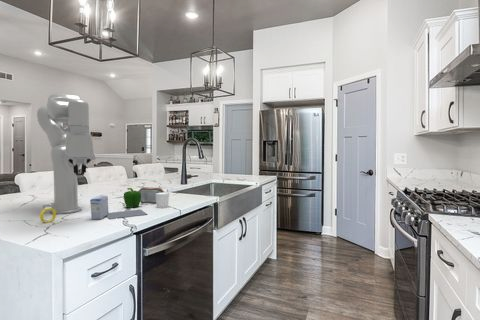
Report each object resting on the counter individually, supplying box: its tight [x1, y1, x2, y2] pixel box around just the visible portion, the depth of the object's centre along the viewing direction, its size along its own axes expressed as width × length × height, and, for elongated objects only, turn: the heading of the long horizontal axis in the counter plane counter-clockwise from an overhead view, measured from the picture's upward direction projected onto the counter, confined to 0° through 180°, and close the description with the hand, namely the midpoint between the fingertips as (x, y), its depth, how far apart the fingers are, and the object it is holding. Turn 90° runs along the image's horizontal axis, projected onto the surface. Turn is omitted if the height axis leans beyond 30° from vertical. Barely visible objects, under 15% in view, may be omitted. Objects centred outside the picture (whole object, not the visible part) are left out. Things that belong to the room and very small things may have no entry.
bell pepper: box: [123, 187, 141, 209], centre depth 149 cm, size 8×8×10 cm
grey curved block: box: [138, 186, 164, 204], centre depth 160 cm, size 15×3×8 cm, turn 84°
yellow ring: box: [39, 207, 57, 224], centre depth 118 cm, size 6×3×6 cm, turn 161°
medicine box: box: [89, 195, 110, 220], centre depth 126 cm, size 8×4×9 cm, turn 5°
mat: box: [105, 209, 148, 220], centre depth 132 cm, size 16×12×1 cm
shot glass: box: [155, 192, 170, 209], centre depth 149 cm, size 7×7×7 cm
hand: (79, 174), depth 121 cm, fingers closed
